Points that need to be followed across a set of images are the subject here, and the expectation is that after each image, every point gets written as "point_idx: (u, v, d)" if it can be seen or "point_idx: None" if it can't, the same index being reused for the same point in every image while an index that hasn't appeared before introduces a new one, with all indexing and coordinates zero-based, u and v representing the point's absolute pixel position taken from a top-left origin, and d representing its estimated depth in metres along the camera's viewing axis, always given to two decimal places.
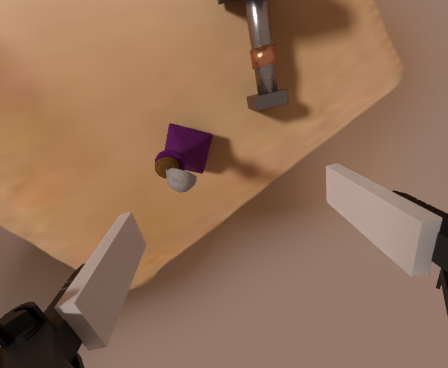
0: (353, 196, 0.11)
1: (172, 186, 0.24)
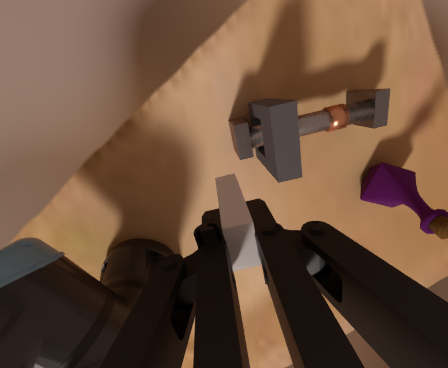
0: None
1: None
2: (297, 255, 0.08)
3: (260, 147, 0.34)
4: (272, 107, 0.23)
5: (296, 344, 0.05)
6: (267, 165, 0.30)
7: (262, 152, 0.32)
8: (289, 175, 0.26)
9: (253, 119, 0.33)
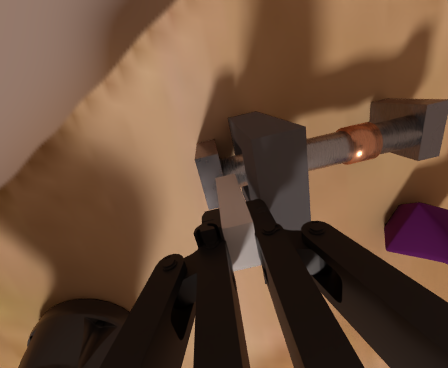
0: None
1: None
2: (297, 255, 0.08)
3: None
4: (257, 140, 0.11)
5: (296, 344, 0.05)
6: None
7: (248, 193, 0.21)
8: None
9: (235, 143, 0.21)
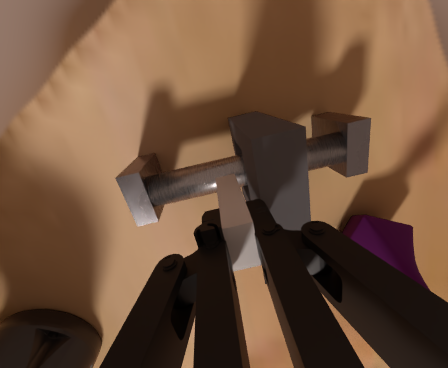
0: None
1: None
2: (297, 255, 0.08)
3: None
4: (257, 140, 0.11)
5: (296, 344, 0.05)
6: None
7: (248, 193, 0.21)
8: None
9: (235, 143, 0.21)
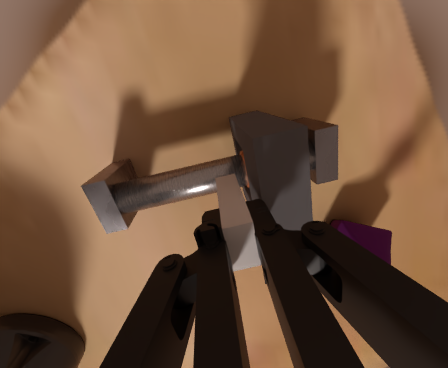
0: None
1: None
2: (297, 255, 0.08)
3: None
4: (258, 139, 0.11)
5: (296, 344, 0.05)
6: None
7: (249, 193, 0.21)
8: None
9: (236, 142, 0.21)
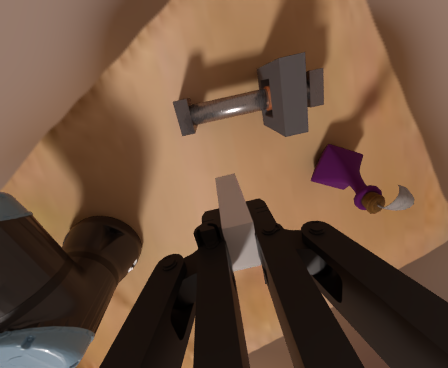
0: None
1: (403, 208, 0.27)
2: (297, 255, 0.08)
3: (267, 113, 0.36)
4: (281, 58, 0.24)
5: (296, 344, 0.05)
6: (274, 125, 0.31)
7: (269, 116, 0.34)
8: (296, 129, 0.27)
9: (261, 84, 0.34)
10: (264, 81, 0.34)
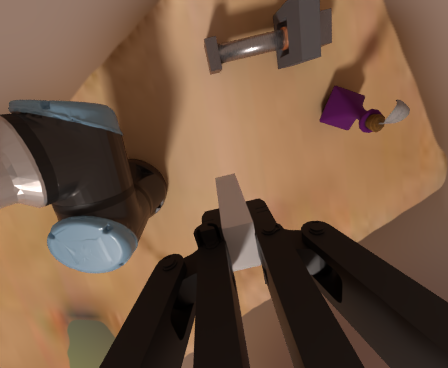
0: None
1: (401, 119, 0.33)
2: (297, 255, 0.08)
3: (282, 56, 0.41)
4: None
5: (296, 344, 0.05)
6: (290, 59, 0.37)
7: (285, 55, 0.39)
8: (311, 54, 0.32)
9: (277, 28, 0.39)
10: (280, 26, 0.39)
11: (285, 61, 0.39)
